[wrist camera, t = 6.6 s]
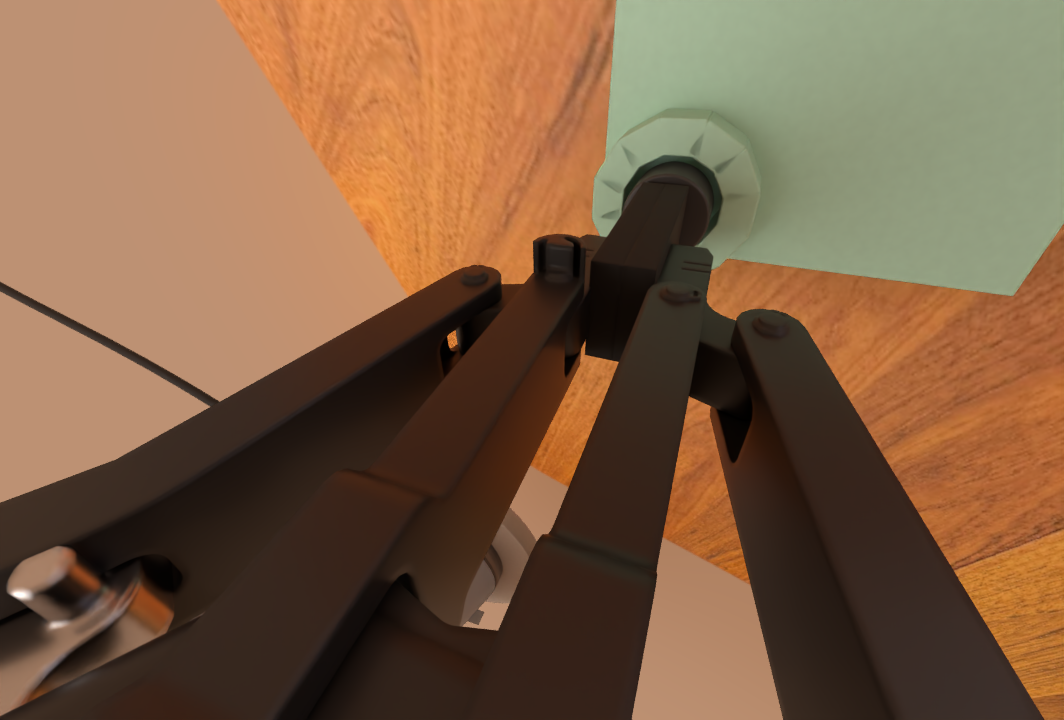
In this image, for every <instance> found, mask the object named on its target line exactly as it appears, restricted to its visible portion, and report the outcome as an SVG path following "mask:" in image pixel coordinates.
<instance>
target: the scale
mask: <svg viewBox="0 0 1064 720" xmlns="http://www.w3.org/2000/svg"><path fill="white" fill-rule="evenodd" d="M671 161H679V162H685V163H688V164H691V165H693V166H695V167H696V168H698V169H699V170H700V171H702V172H703V173H704V174H705V176H706V177H707V178H708V180H709V182H710V184H711V186H712V190H713V195H714V203H713V209H712V213H711V217H710V221H709V225H708V228H707V231H706V233H705V235H704V236H703V238H702V239H701V240H700V242H699V243H698V244H697V245H696V246H695V247H701V248H707V249H708V250H709V251H710V252H711V254H712V255H713V256H714V257H713V263H712V268H711V270H713V269H716V268H717V267H719V266H720V265H721V264H722V263H723V262H724V261H725V260H726V259H727V258H728V259H736V260H743V261H751V262H758V263H766V264H773V265H781V266H788V267H796V268H804V269H811V270H819V271H826V272H834V273H841V274H849V275H856V276H864V277H871V278H879V279H887V280H894V281H902V282H909V283H917V284H924V285H932V286H939V287H947V288H955V289H962V290H970V291H977V292H985V293H992V294H1000V295H1007V296H1013V295H1014V294H1015V292H1016V291H1017V290H1018V288H1019V287H1020V285H1021V284H1022V283H1023V281H1024V280H1025V278H1026V277H1027V275H1028V274H1029V273H1030V271H1031V270H1032V268H1033V267H1034V265H1035V264H1036V263H1037V261H1038V260H1039V258H1040V257H1041V255H1042V254H1043V253H1044V251H1045V250H1046V248H1047V247H1048V245H1049V244H1050V243H1051V241H1052V240H1053V238H1054V237H1055V235H1056V234H1057V233H1058V231H1059V230H1060V228H1061V227H1062V225H1063V224H1064V0H616V12H615V27H614V41H613V55H612V69H611V84H610V98H609V112H608V126H607V140H606V155H605V161H604V163H603V164H602V166H601V167H600V169H599V170H598V172H597V174H596V175H595V178H594V189H593V206H592V220H593V222H594V224H595V226H596V228H597V230H598V232H599V234H600V236H603V237H607V236H608V234H609V233H610V231H611V230H612V228H613V227H614V225H615V224H616V222H617V221H618V219H619V218H620V216H621V215H622V213H623V207H624V204H625V201H626V199H627V197H628V195H629V194H630V192H631V191H632V189H633V188H634V186H635V185H636V184H637V182H638V181H639V179H640V178H641V177H642V176H643V175H644V174H645V173H646V172H647V171H648V170H650V169H651V168H653V167H654V166H656V165H659V164H661V163H665V162H671Z"/></svg>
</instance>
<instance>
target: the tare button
mask: <svg viewBox="0 0 1064 720" xmlns="http://www.w3.org/2000/svg"><path fill="white" fill-rule="evenodd" d="M643 182H649V183H660V184H672V185H683V186H689V191H688V196H687V202H686V207H685V213H684V218H683V224H682V229H681V235H680V240H679V245H685V246H693V247H695V246H696V245H697V244H698V243H699V242H700V240H701V239H702V238H703V236H704V235H705V233H706V231H707V228H708V225H709V221H710V217H711V213H712V209H713V203H714V195H713V190H712V186H711V184H710V182H709V180H708V178H707V177H706V176H705V174H704V173H703V172H702V171H700V170H699V169H698V168H696V167H695V166H693V165H691V164H688V163H685V162H679V161H671V162H665V163H661V164H659V165H656V166H654V167H653V168H651V169H650V170H648V171H647V172H646V173H645V174H644V175H643V176H642V177H641V178H640V179H639V181H638V182H637V184H636V185H635V186H634V188H633V189H632V191H631V192H630V194H629V195H628V197H627V199H626V201H625V204H624V207H623V212H624V210H625V209H626V207H627V206H628V204H629V203H630V201H631V200H632V198H633V197H634V195H635V194H636V192H637V191H638V189H639V188H640V186H641V185H642V183H643Z"/></svg>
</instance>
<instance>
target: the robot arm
mask: <svg viewBox="0 0 1064 720" xmlns="http://www.w3.org/2000/svg"><path fill="white" fill-rule="evenodd" d="M688 191H689V186H683V185H672V184H660V183H649V182H643V183H642V185H641V186H640V188H639V189H638V191H637V192H636V194H635V195H634V197H633V198H632V200H631V201H630V203H629V204H628V206H627V207H626V209H625V210H624V212H623V213H622V215H621V216H620V218H619V219H618V221H617V222H616V224H615V225H614V227H613V228H612V230H611V231H610V233H609V234H608V236H607V237H603V236H595V235H585V236H582V237H580V238H579V237H576V236H572V235H566V234H553V235H546V236H543V237H539V238H537V239H536V240H534V241H533V259H534V273H533V274H532V275H531V276H530V277H529V279H528V280H527V281H526V282H525V283H524V284H502V283H501V274H500V273H499V271H498V270H496V269H494V268H491V267H486V266H483V265H478V266H477V265H472V266H470V267H465V268H461V269H459V270H456V271H454V272H453V273H451V274H449V275H447V276H445V277H444V278H442V279H440V280H438V281H436V282H435V283H433V284H431V285H429V286H427V287H426V288H424V289H422V290H420V291H418V292H417V293H415V294H413V295H411V296H409V297H408V298H406V299H404V300H402V301H401V302H399V303H397V304H395V305H393V306H391V307H390V308H388V309H386V310H384V311H382V312H381V313H379V314H377V315H375V316H373V317H372V318H370V319H368V320H366V321H364V322H363V323H361V324H359V325H357V326H355V327H354V328H352V329H350V330H348V331H347V332H345V333H343V334H341V335H339V336H337V337H336V338H334V339H332V340H330V341H328V342H327V343H325V344H323V345H321V346H320V347H318V348H316V349H314V350H312V351H310V352H309V353H307V354H305V355H303V356H301V357H300V358H298V359H296V360H295V361H293V362H291V363H289V364H287V365H285V366H283V367H282V368H280V369H278V370H276V371H274V372H273V373H271V374H269V375H267V376H265V377H264V378H262V379H260V380H258V381H256V382H255V383H253V384H251V385H249V386H247V387H246V388H244V389H242V390H240V391H238V392H237V393H235V394H233V395H231V396H230V397H228V398H226V399H224V400H222V401H221V402H219V401H218V400H216V399H215V398H213V397H211V396H210V395H208V394H207V393H205V392H203V391H202V390H200V389H198V388H197V387H195V386H193V385H192V384H190V383H188V382H187V381H185V380H183V379H182V378H180V377H178V376H176V375H175V374H173V373H171V372H170V371H168V370H166V369H164V368H163V367H161V366H159V365H157V364H155V363H154V362H152V361H150V360H148V359H147V358H145V357H143V356H141V355H139V354H138V353H136V352H134V351H132V350H130V349H128V348H126V347H124V346H123V345H121V344H119V343H117V342H115V341H113V340H112V339H110V338H108V337H106V336H104V335H102V334H100V333H98V332H96V331H94V330H92V329H90V328H88V327H86V326H85V325H83V324H81V323H79V322H77V321H75V320H73V319H71V318H69V317H67V316H65V315H63V314H61V313H59V312H57V311H55V310H54V309H51V308H49V307H47V306H46V305H44V304H42V303H40V302H37V301H36V300H34V299H32V298H30V297H28V296H26V295H24V294H22V293H21V292H19V291H17V290H15V289H13V288H11V287H9V286H7V285H6V284H4V283H2V282H0V292H2V293H4V294H6V295H8V296H10V297H12V298H13V299H15V300H17V301H19V302H21V303H23V304H25V305H27V306H29V307H30V308H32V309H34V310H36V311H38V312H40V313H42V314H44V315H46V316H48V317H50V318H52V319H54V320H56V321H58V322H60V323H61V324H64V325H66V326H67V327H69V328H71V329H73V330H75V331H77V332H79V333H81V334H83V335H85V336H87V337H88V338H90V339H92V340H94V341H96V342H98V343H100V344H102V345H104V346H105V347H107V348H109V349H111V350H113V351H115V352H117V353H118V354H120V355H122V356H124V357H126V358H128V359H129V360H131V361H133V362H135V363H137V364H138V365H140V366H142V367H144V368H146V369H147V370H149V371H151V372H153V373H154V374H156V375H158V376H160V377H161V378H163V379H165V380H167V381H168V382H170V383H172V384H173V385H175V386H177V387H178V388H180V389H182V390H184V391H185V392H187V393H189V394H190V395H192V396H194V397H195V398H197V399H198V400H200V401H202V402H203V403H205V404H207V405H208V406H210V408H208V409H206V410H204V411H203V412H201V413H199V414H197V415H195V416H193V417H192V418H190V419H188V420H186V421H184V422H183V423H181V424H179V425H177V426H176V427H174V428H172V429H170V430H169V431H167V432H165V433H163V434H161V435H159V436H158V437H156V438H154V439H152V440H150V441H149V442H147V443H145V444H143V445H141V446H140V447H138V448H136V449H134V450H132V451H131V452H129V453H127V454H125V455H123V456H122V457H120V458H118V459H116V460H114V461H111V462H108V463H106V464H103V465H100V466H98V467H95V468H92V469H90V470H87V471H84V472H81V473H79V474H76V475H73V476H71V477H68V478H66V479H63V480H60V481H57V482H55V483H52V484H50V485H47V486H44V487H41V488H39V489H36V490H33V491H31V492H28V493H25V494H23V495H20V496H18V497H15V498H12V499H9V500H7V501H4V502H1V503H0V720H632V713H633V708H634V701H635V697H636V691H637V686H638V680H639V675H640V669H641V664H642V659H643V653H644V648H645V642H646V636H647V630H648V626H649V620H650V615H651V609H652V604H653V598H654V592H655V587H656V579H657V572H656V571H657V564H658V558H659V553H660V547H661V542H662V537H663V531H664V526H665V521H666V515H667V510H668V505H669V499H670V494H671V489H672V483H673V478H674V473H675V467H676V462H677V457H678V451H679V446H680V441H681V435H682V430H683V425H684V419H685V414H686V409H687V403H688V398H689V396H690V397H692V398H694V399H696V400H699V401H701V402H703V403H705V404H707V405H710V406H711V409H710V418H711V422H712V426H713V430H714V434H715V439H716V443H717V447H718V451H719V455H720V459H721V463H722V468H723V472H724V476H725V480H726V484H727V488H728V492H729V497H730V501H731V505H732V509H733V513H734V517H735V521H736V526H737V530H738V534H739V538H740V542H741V546H742V550H743V555H744V559H745V563H746V567H747V571H748V575H749V579H750V583H751V588H752V592H753V596H754V600H755V604H756V608H757V612H758V616H759V621H760V625H761V629H762V633H763V637H764V641H765V645H766V650H767V654H768V658H769V662H770V666H771V670H772V675H773V679H774V683H775V687H776V691H777V695H778V699H779V704H780V708H781V711H782V716H783V720H1044V719H1043V717H1042V715H1041V714H1040V712H1039V710H1038V709H1037V707H1036V705H1035V704H1034V702H1033V700H1032V699H1031V697H1030V696H1029V694H1028V692H1027V691H1026V689H1025V687H1024V686H1023V684H1022V682H1021V681H1020V679H1019V678H1018V676H1017V674H1016V673H1015V671H1014V669H1013V668H1012V666H1011V664H1010V663H1009V661H1008V659H1007V658H1006V656H1005V655H1004V653H1003V651H1002V650H1001V648H1000V646H999V645H998V643H997V641H996V640H995V638H994V636H993V635H992V633H991V632H990V630H989V628H988V627H987V625H986V623H985V622H984V620H983V618H982V617H981V615H980V614H979V612H978V610H977V609H976V607H975V605H974V604H973V602H972V600H971V599H970V597H969V595H968V594H967V592H966V591H965V589H964V587H963V586H962V584H961V582H960V581H959V579H958V577H957V576H956V574H955V572H954V571H953V569H952V568H951V566H950V564H949V563H948V561H947V559H946V558H945V556H944V554H943V553H942V551H941V550H940V548H939V546H938V545H937V543H936V541H935V540H934V538H933V536H932V535H931V533H930V531H929V530H928V528H927V527H926V525H925V523H924V522H923V520H922V518H921V517H920V515H919V513H918V512H917V510H916V508H915V507H914V505H913V504H912V502H911V500H910V499H909V497H908V495H907V494H906V492H905V490H904V489H903V487H902V486H901V484H900V482H899V481H898V479H897V477H896V476H895V474H894V472H893V471H892V469H891V467H890V466H889V464H888V463H887V461H886V459H885V458H884V456H883V454H882V453H881V451H880V449H879V448H878V446H877V444H876V443H875V441H874V440H873V438H872V436H871V435H870V433H869V431H868V430H867V428H866V426H865V425H864V423H863V422H862V420H861V418H860V417H859V415H858V413H857V412H856V410H855V408H854V407H853V405H852V403H851V402H850V400H849V399H848V397H847V395H846V394H845V392H844V390H843V389H842V387H841V385H840V384H839V382H838V380H837V379H836V377H835V376H834V374H833V372H832V371H831V369H830V367H829V366H828V364H827V362H826V361H825V359H824V358H823V356H822V354H821V353H820V351H819V349H818V348H817V346H816V344H815V343H814V341H813V339H812V338H811V336H810V335H809V333H808V331H807V330H806V328H805V327H804V326H803V325H802V324H801V323H800V322H799V321H798V320H796V319H795V318H793V317H791V316H789V315H788V314H786V313H783V312H779V311H776V310H766V309H753V310H748V311H745V312H742V313H741V314H740V315H739V316H738V317H737V320H736V321H735V320H732V319H729V318H727V317H725V316H722V315H720V314H718V313H717V312H715V311H714V310H713V309H711V308H710V307H709V305H708V304H707V297H706V296H707V290H708V285H709V279H710V274H711V268H712V263H713V257H714V256H713V255H712V254H711V252H710V251H709V250H708V249H707V248H701V247H693V246H685V245H679V240H680V235H681V229H682V224H683V218H684V213H685V207H686V202H687V196H688ZM454 330H456V336H457V343H458V344H457V345H456V346H455V347H453V348H451V349H450V348H449V345H448V339H447V336H448V335H449V334H450V333H451V332H453V331H454ZM585 340H586V347H585V355H589V356H593V357H598V358H603V359H608V360H612V361H617V362H619V363H618V366H617V368H616V371H615V373H614V376H613V378H612V381H611V383H610V386H609V388H608V391H607V393H606V396H605V398H604V401H603V403H602V406H601V408H600V411H599V413H598V416H597V418H596V421H595V423H594V426H593V428H592V431H591V433H590V436H589V438H588V441H587V443H586V446H585V448H584V451H583V453H582V456H581V458H580V461H579V463H578V466H577V468H576V471H575V473H574V476H573V478H572V481H571V483H570V486H569V488H568V491H567V493H566V496H565V498H564V500H563V503H562V505H561V508H560V510H559V513H558V516H557V518H556V520H555V523H554V525H553V528H552V529H551V531H550V532H549V534H543V535H542V536H541V537H540V538H539V540H538V541H537V542H536V544H535V546H534V548H533V550H532V553H531V555H530V557H529V559H528V561H527V564H526V566H525V569H524V571H523V573H522V576H521V578H520V580H519V583H518V585H517V587H516V590H515V592H514V595H513V597H512V599H511V602H510V604H509V606H508V609H507V611H506V614H505V616H504V618H503V621H502V623H501V625H500V628H499V630H498V631H496V630H487V629H477V628H469V627H462V626H463V625H464V624H465V623H466V622H467V621H469V622H472V623H474V624H477V625H479V622H480V620H481V618H482V616H483V614H484V612H483V611H480V610H478V609H479V607H480V606H481V605H482V604H483V603H484V602H485V601H486V600H487V599H488V597H489V596H490V595H491V594H492V592H493V591H494V590H495V588H496V586H497V584H498V582H499V579H500V577H501V575H502V571H503V566H502V562H501V559H500V557H499V555H498V553H497V551H496V550H495V548H494V547H493V546H492V544H491V543H492V541H493V539H494V537H495V535H496V533H497V531H498V529H499V527H500V525H501V523H502V521H503V519H504V517H505V515H506V513H507V511H508V509H509V507H510V504H511V503H512V501H513V499H514V497H515V495H516V493H517V491H518V489H519V487H520V485H521V483H522V480H523V479H524V476H525V474H526V472H527V470H528V468H529V466H530V464H531V462H532V460H533V458H534V456H535V454H536V452H537V450H538V448H539V446H540V444H541V442H542V440H543V438H544V436H545V434H546V432H547V430H548V428H549V426H550V424H551V422H552V420H553V418H554V416H555V414H556V412H557V410H558V408H559V406H560V404H561V402H562V400H563V398H564V396H565V394H566V392H567V390H568V388H569V386H570V384H571V381H572V379H573V377H574V375H575V373H576V371H577V369H578V367H579V365H580V357H581V348H582V346H583V344H584V342H585Z"/></svg>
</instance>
